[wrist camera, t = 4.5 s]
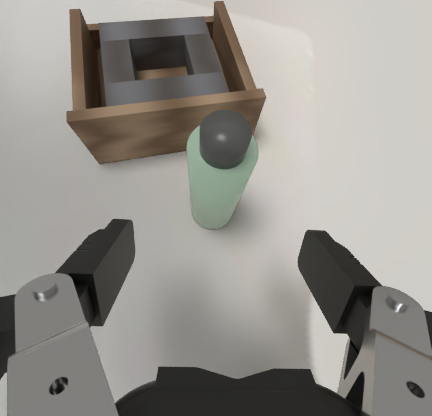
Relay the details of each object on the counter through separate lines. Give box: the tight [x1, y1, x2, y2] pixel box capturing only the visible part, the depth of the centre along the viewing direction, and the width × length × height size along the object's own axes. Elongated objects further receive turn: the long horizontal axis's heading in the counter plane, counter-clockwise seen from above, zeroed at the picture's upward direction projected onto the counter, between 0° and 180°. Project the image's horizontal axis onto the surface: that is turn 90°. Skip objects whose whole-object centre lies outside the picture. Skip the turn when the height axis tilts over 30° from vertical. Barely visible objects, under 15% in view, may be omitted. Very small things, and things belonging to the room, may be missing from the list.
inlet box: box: [67, 1, 266, 164], centre depth 23 cm, size 16×16×6 cm
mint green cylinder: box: [187, 110, 258, 229], centre depth 16 cm, size 4×4×12 cm
